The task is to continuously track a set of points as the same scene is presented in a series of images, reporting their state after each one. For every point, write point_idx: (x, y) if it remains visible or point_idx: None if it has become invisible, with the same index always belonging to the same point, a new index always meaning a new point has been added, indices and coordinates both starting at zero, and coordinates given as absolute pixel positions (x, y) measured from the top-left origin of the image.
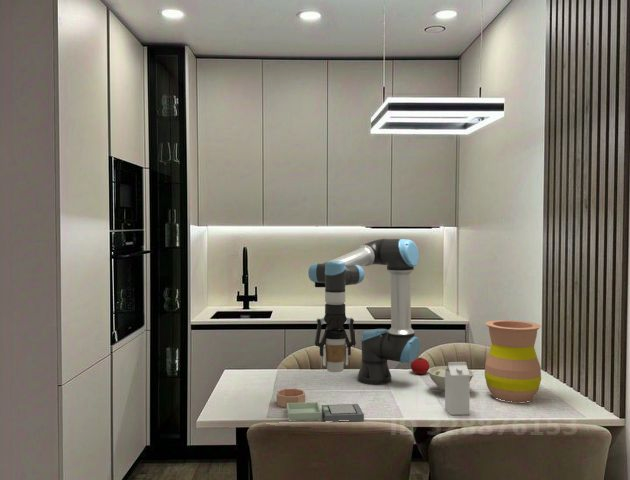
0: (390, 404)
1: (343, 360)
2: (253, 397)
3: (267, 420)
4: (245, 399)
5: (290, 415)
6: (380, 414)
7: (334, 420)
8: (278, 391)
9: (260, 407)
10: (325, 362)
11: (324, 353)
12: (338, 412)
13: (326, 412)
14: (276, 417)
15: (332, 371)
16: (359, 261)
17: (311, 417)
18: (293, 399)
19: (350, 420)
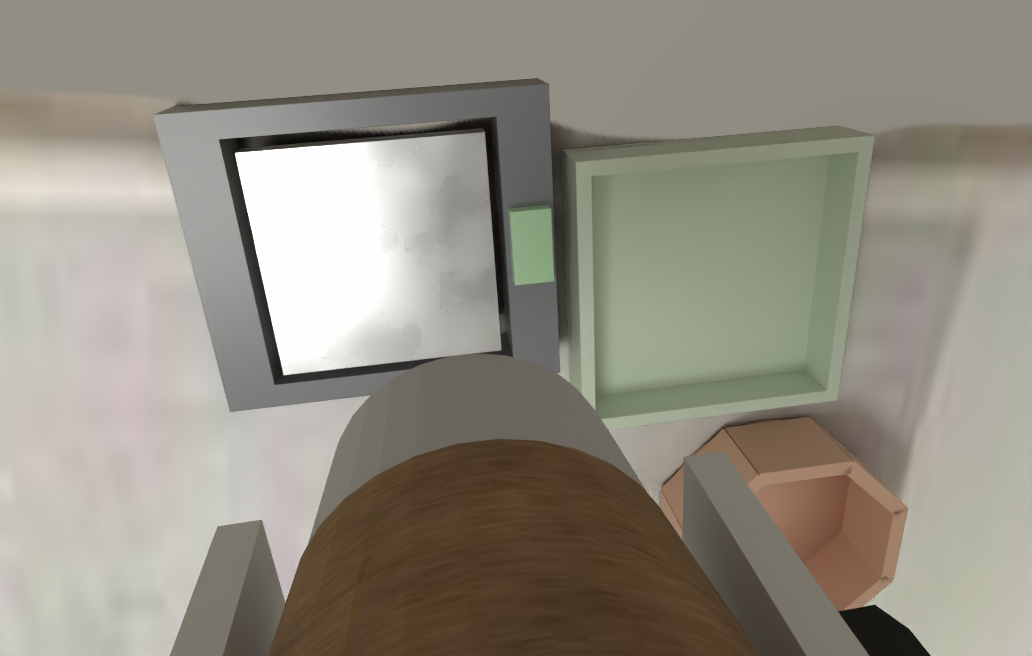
0: None
1: (301, 564)
2: (972, 597)
3: (989, 151)
4: (1028, 561)
5: (848, 135)
6: (22, 285)
7: (456, 85)
8: (880, 580)
9: (973, 423)
10: (711, 495)
11: (838, 652)
12: (417, 161)
13: (531, 177)
14: (909, 218)
15: (536, 365)
16: None
17: (659, 146)
18: (782, 456)
19: (303, 96)
